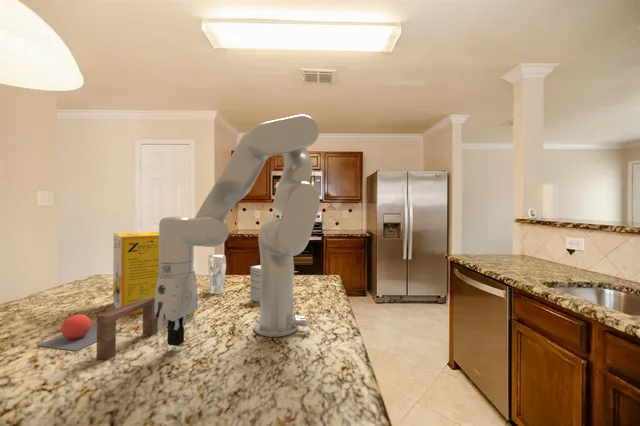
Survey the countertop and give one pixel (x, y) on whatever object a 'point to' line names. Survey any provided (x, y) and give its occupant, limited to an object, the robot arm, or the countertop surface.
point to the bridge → (108, 325)
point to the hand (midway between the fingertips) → (175, 343)
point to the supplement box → (255, 283)
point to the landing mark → (73, 341)
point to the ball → (76, 326)
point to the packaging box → (135, 267)
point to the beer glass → (216, 273)
